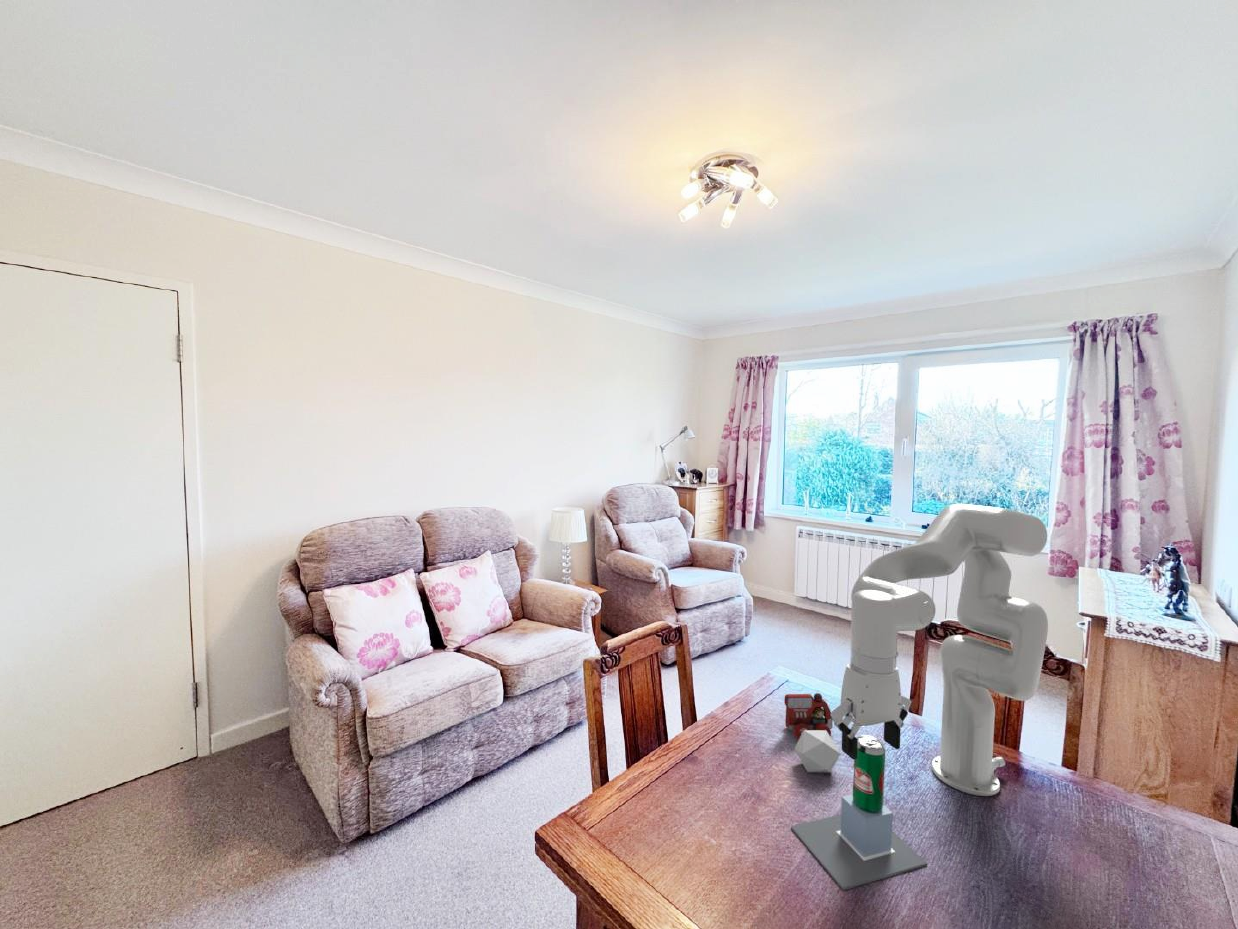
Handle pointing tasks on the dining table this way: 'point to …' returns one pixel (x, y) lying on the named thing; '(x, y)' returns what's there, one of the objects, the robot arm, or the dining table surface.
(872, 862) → the mat
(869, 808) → the soda can
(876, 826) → the blue block
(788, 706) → the toy fire truck
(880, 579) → the robot arm
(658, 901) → the dining table surface
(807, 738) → the die
